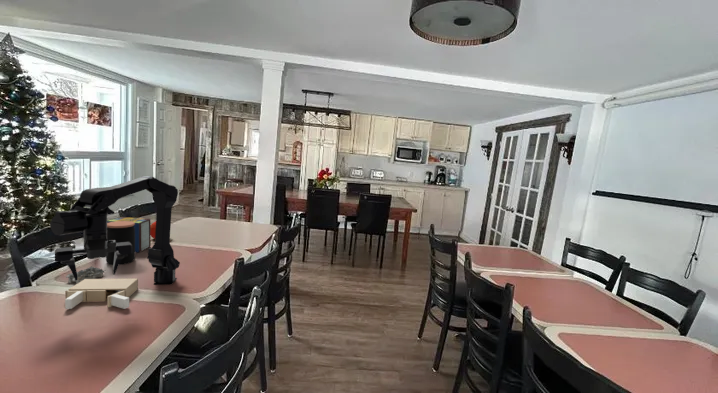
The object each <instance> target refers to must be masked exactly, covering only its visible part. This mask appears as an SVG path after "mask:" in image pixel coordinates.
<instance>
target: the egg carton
mask: <svg viewBox="0 0 718 393" xmlns="http://www.w3.org/2000/svg"><path fill="white" fill-rule="evenodd" d="M105 272H106V269H104V270H103V269H102V268H99V267H94V266H93V265H92V266H89V267H87V268H84V269H80V270H79V271H77V280H75V278H74V276H73V274H72V272H71V273H68V274H66V276H65V278H66V279H67V278H68V279H67V281H68V284H72V283H73V284H74V283H75V285H76V284H78V283H79V282H81V281H83V280H84V279H98V278H102V277H103V276H104V273H105Z"/></svg>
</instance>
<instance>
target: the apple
mask: <svg viewBox="0 0 718 393" xmlns="http://www.w3.org/2000/svg"><path fill="white" fill-rule="evenodd" d="M155 231H156V220H155V221H154V222H152V223H150V237H151V238H153V239H154V240H155Z"/></svg>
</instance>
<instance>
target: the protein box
mask: <svg viewBox="0 0 718 393" xmlns="http://www.w3.org/2000/svg"><path fill="white" fill-rule="evenodd" d="M116 221H131V222H134V223H135V225H134V228H135V253H141V252H143V251H145V250H147V249H149V248H151V247H152V244H151V242H152V240H151V238H152V237H151V235H150V225H151V218H143V217H142V218H140V217H126V216H123V217H122V216H120V217H117V218H112V219H110V220H108V219H107V223H109V222H116ZM150 246H151V247H150ZM148 247H149V248H148ZM146 248H147V249H146ZM144 249H145V250H144ZM142 250H143V251H142ZM140 251H141V252H140Z"/></svg>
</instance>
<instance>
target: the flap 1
mask: <svg viewBox="0 0 718 393" xmlns="http://www.w3.org/2000/svg"><path fill="white" fill-rule="evenodd" d="M64 296H65V299H64V306H65V310H72V309H73V308H75V307H76V306H77V305H79V304H80V303H86V302H87V293H86V291H68V290H65V294H64Z"/></svg>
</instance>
